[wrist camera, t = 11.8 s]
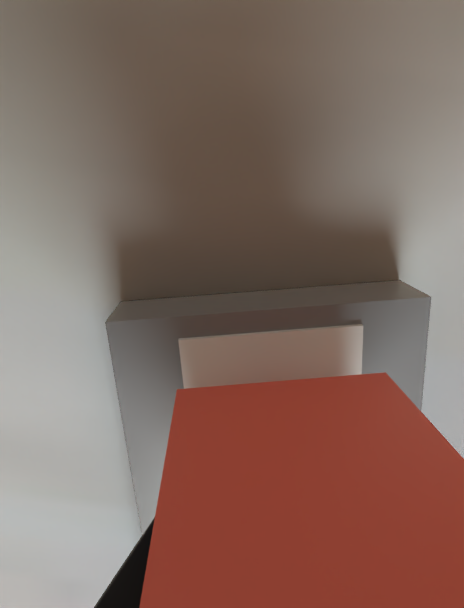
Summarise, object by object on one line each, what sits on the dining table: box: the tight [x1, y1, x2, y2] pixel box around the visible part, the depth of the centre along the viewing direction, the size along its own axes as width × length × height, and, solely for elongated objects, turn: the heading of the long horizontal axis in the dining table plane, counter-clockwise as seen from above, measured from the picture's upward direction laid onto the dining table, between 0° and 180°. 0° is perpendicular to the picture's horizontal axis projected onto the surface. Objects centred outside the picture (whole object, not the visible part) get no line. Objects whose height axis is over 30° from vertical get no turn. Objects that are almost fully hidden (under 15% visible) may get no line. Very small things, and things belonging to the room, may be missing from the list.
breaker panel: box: [105, 280, 431, 535], centre depth 11 cm, size 17×7×3 cm, turn 4°
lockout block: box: [139, 372, 464, 608], centre depth 6 cm, size 4×4×5 cm
